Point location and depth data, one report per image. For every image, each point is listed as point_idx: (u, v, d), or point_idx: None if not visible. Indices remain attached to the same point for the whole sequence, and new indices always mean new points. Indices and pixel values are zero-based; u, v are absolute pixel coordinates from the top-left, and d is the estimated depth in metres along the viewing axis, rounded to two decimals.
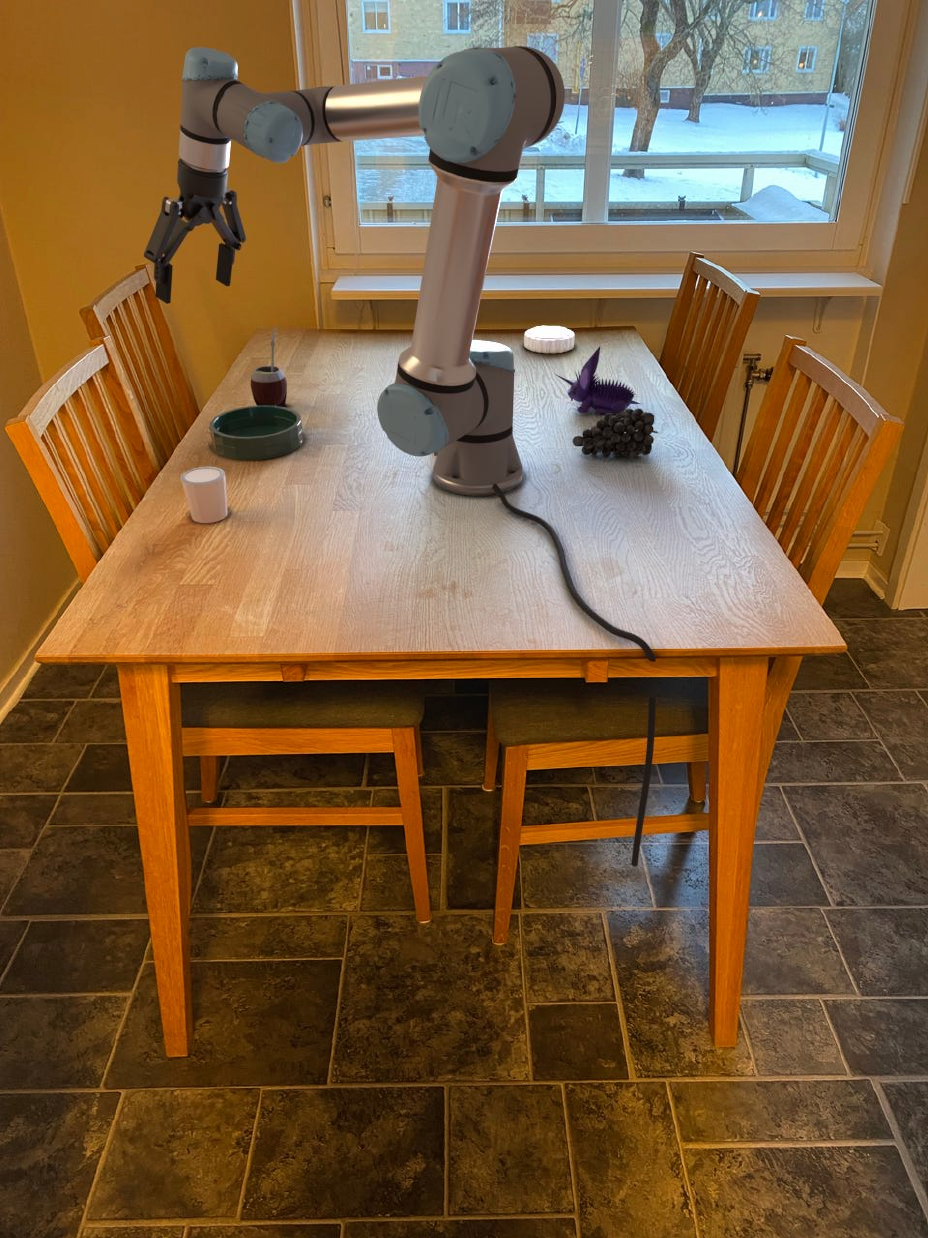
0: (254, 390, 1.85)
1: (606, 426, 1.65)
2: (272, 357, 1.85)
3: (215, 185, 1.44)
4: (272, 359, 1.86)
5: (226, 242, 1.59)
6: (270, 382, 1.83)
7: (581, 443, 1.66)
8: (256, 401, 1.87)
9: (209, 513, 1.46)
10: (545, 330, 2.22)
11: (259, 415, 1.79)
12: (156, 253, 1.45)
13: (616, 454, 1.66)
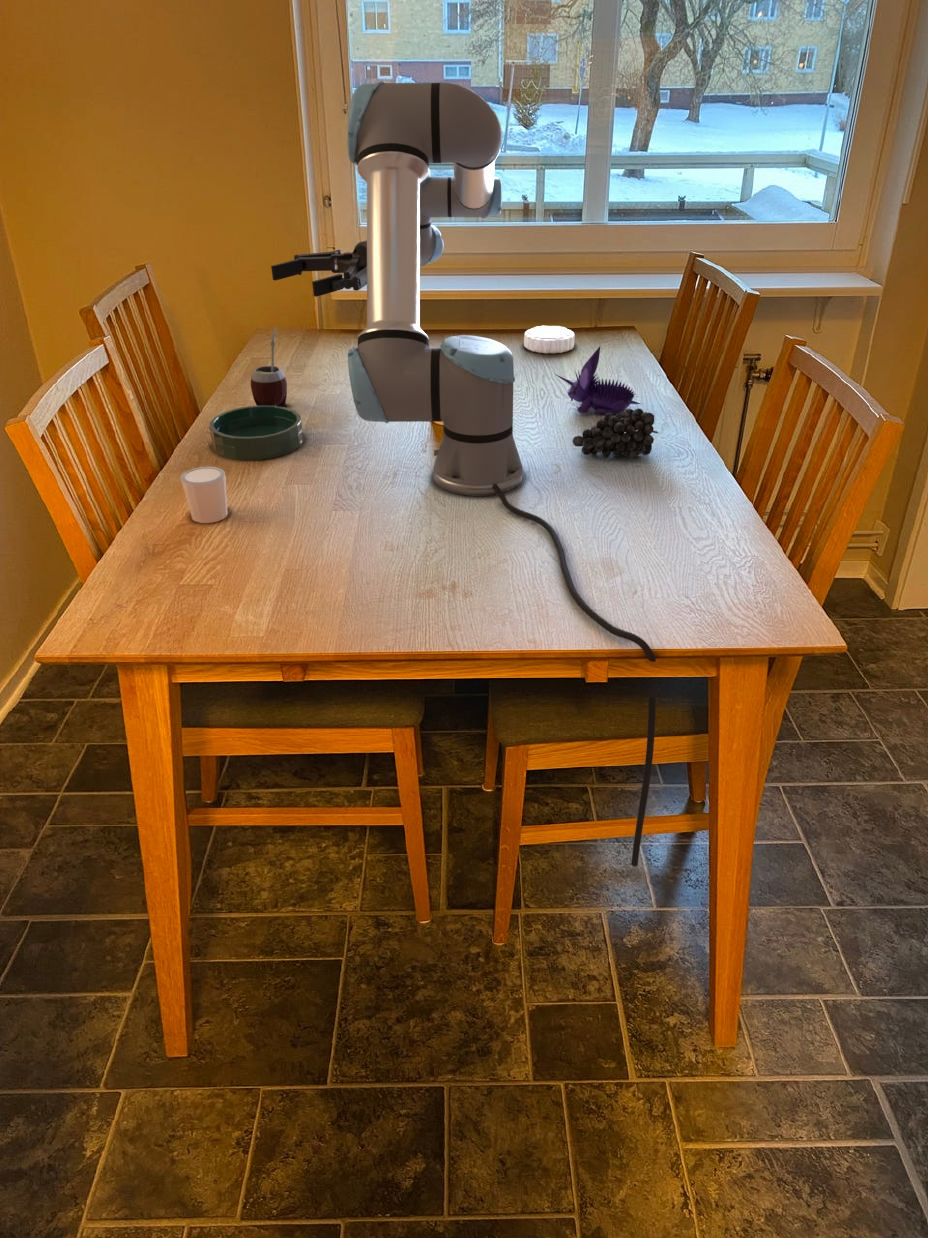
0: (254, 390, 1.85)
1: (606, 426, 1.65)
2: (272, 357, 1.85)
3: (367, 240, 1.88)
4: (272, 359, 1.86)
5: None
6: (270, 382, 1.83)
7: (581, 443, 1.66)
8: (256, 401, 1.87)
9: (209, 513, 1.46)
10: (545, 330, 2.22)
11: (259, 415, 1.79)
12: None
13: (616, 454, 1.66)
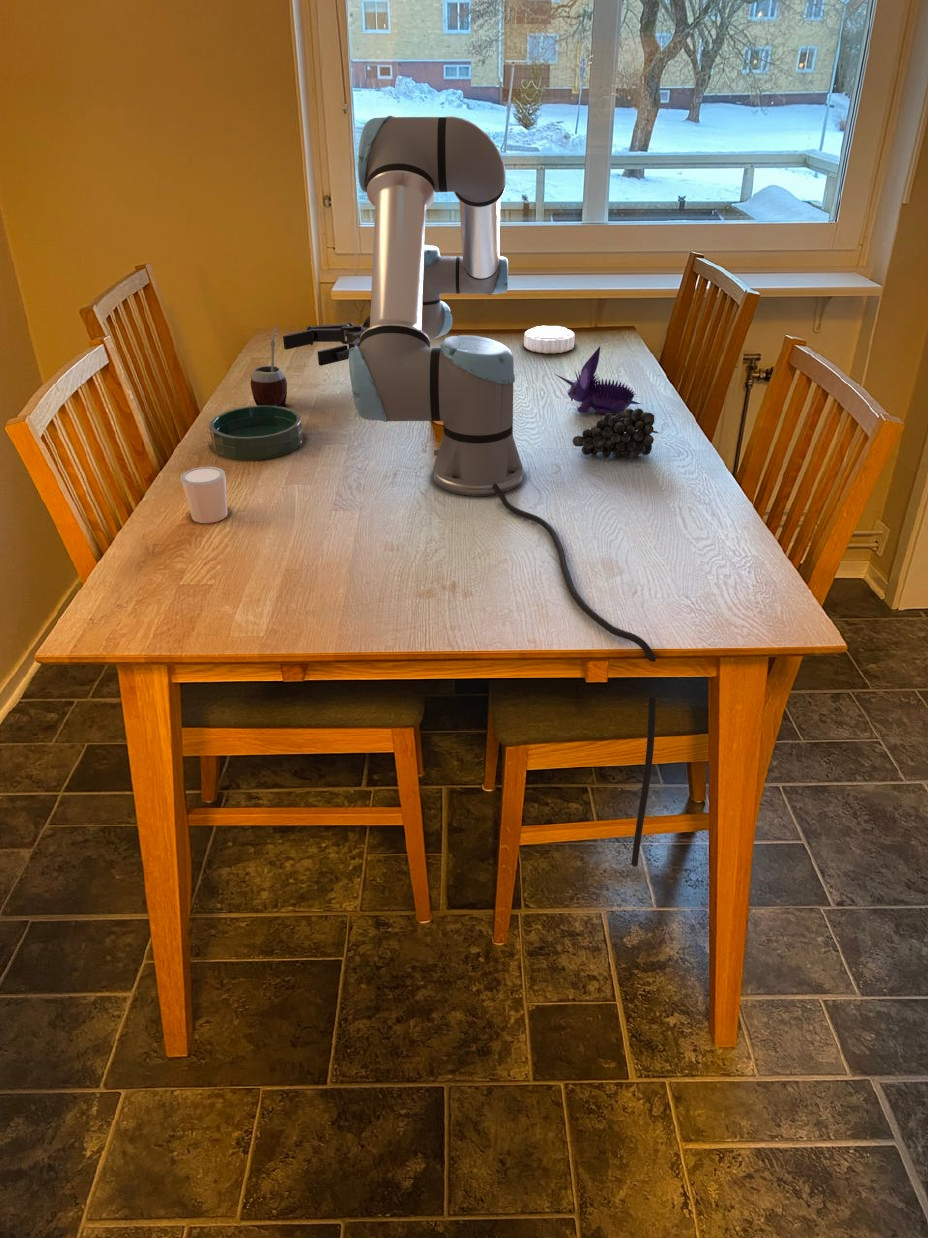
0: (254, 390, 1.85)
1: (606, 426, 1.65)
2: (272, 357, 1.85)
3: None
4: (272, 359, 1.86)
5: None
6: (270, 382, 1.83)
7: (581, 443, 1.66)
8: (256, 401, 1.87)
9: (209, 513, 1.46)
10: (545, 330, 2.22)
11: (259, 415, 1.79)
12: None
13: (616, 454, 1.66)
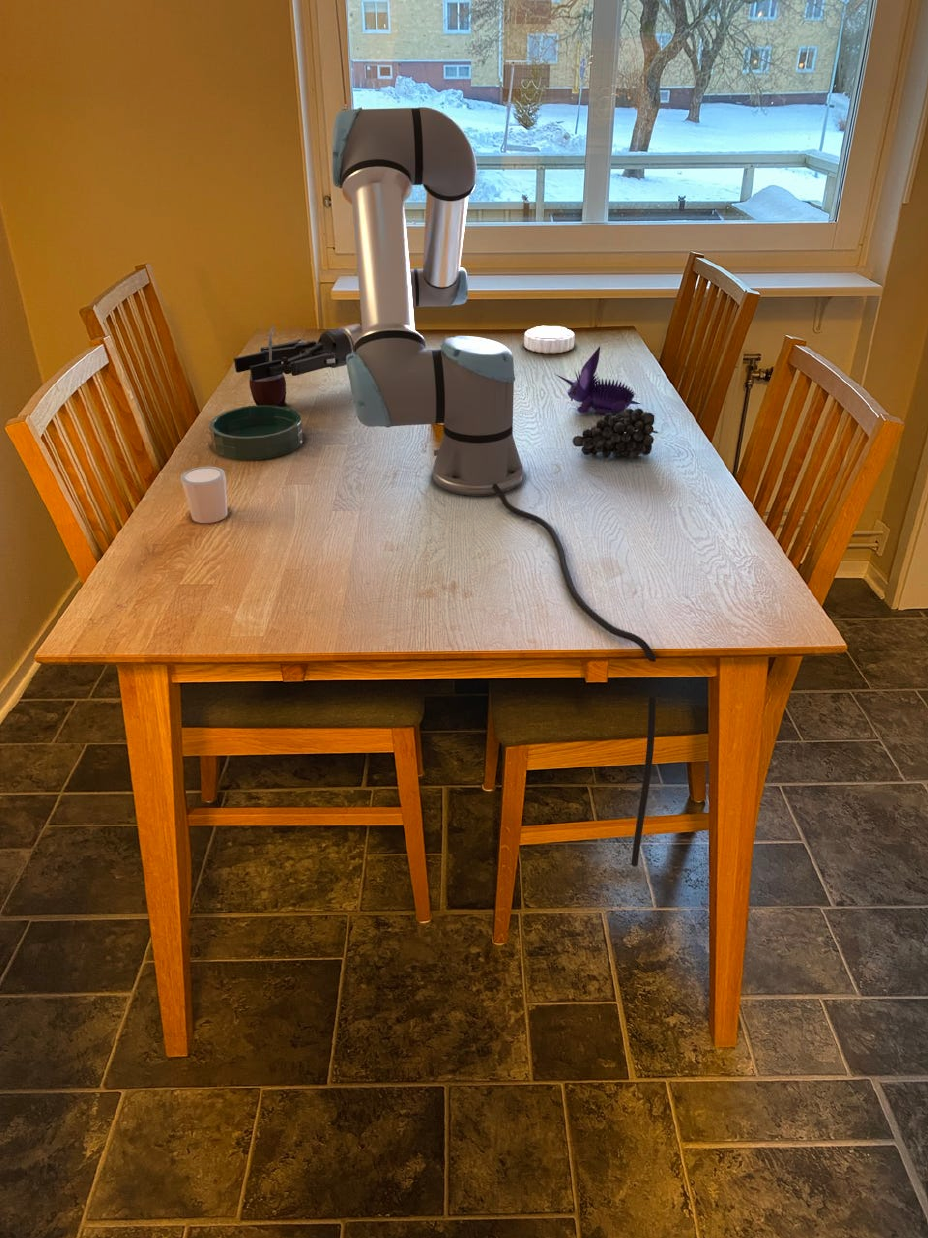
0: (253, 390, 1.85)
1: (606, 426, 1.65)
2: (270, 356, 1.86)
3: (332, 329, 1.92)
4: (270, 358, 1.86)
5: None
6: (268, 380, 1.83)
7: (581, 443, 1.66)
8: (256, 401, 1.87)
9: (209, 513, 1.46)
10: (545, 330, 2.22)
11: (259, 415, 1.79)
12: None
13: (616, 454, 1.66)
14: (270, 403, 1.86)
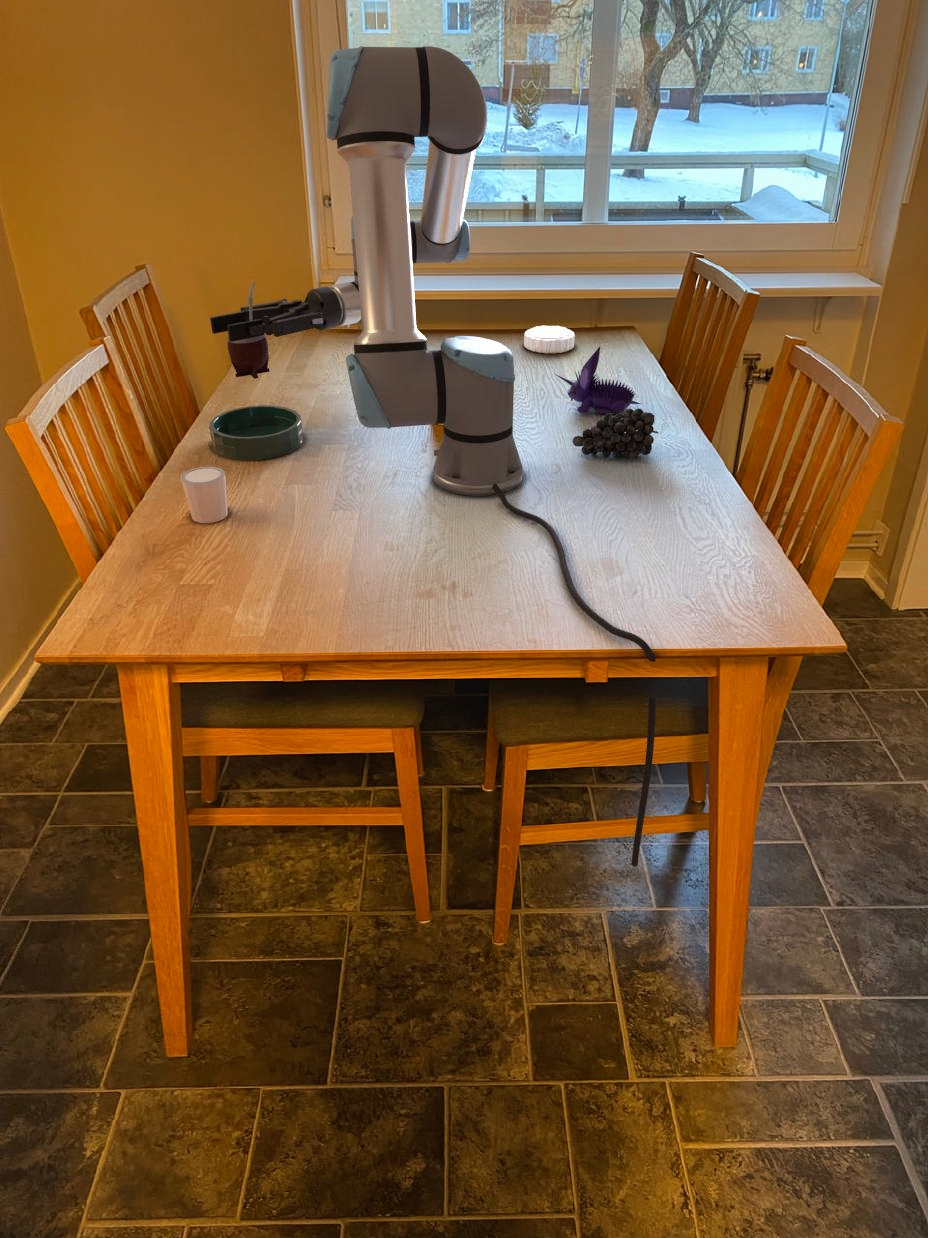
0: (231, 353, 1.67)
1: (606, 426, 1.65)
2: (250, 316, 1.67)
3: None
4: (250, 318, 1.67)
5: None
6: (248, 342, 1.65)
7: (581, 443, 1.66)
8: (235, 365, 1.69)
9: (209, 513, 1.46)
10: (545, 330, 2.22)
11: (259, 415, 1.79)
12: (247, 307, 1.72)
13: (616, 454, 1.66)
14: (250, 368, 1.68)
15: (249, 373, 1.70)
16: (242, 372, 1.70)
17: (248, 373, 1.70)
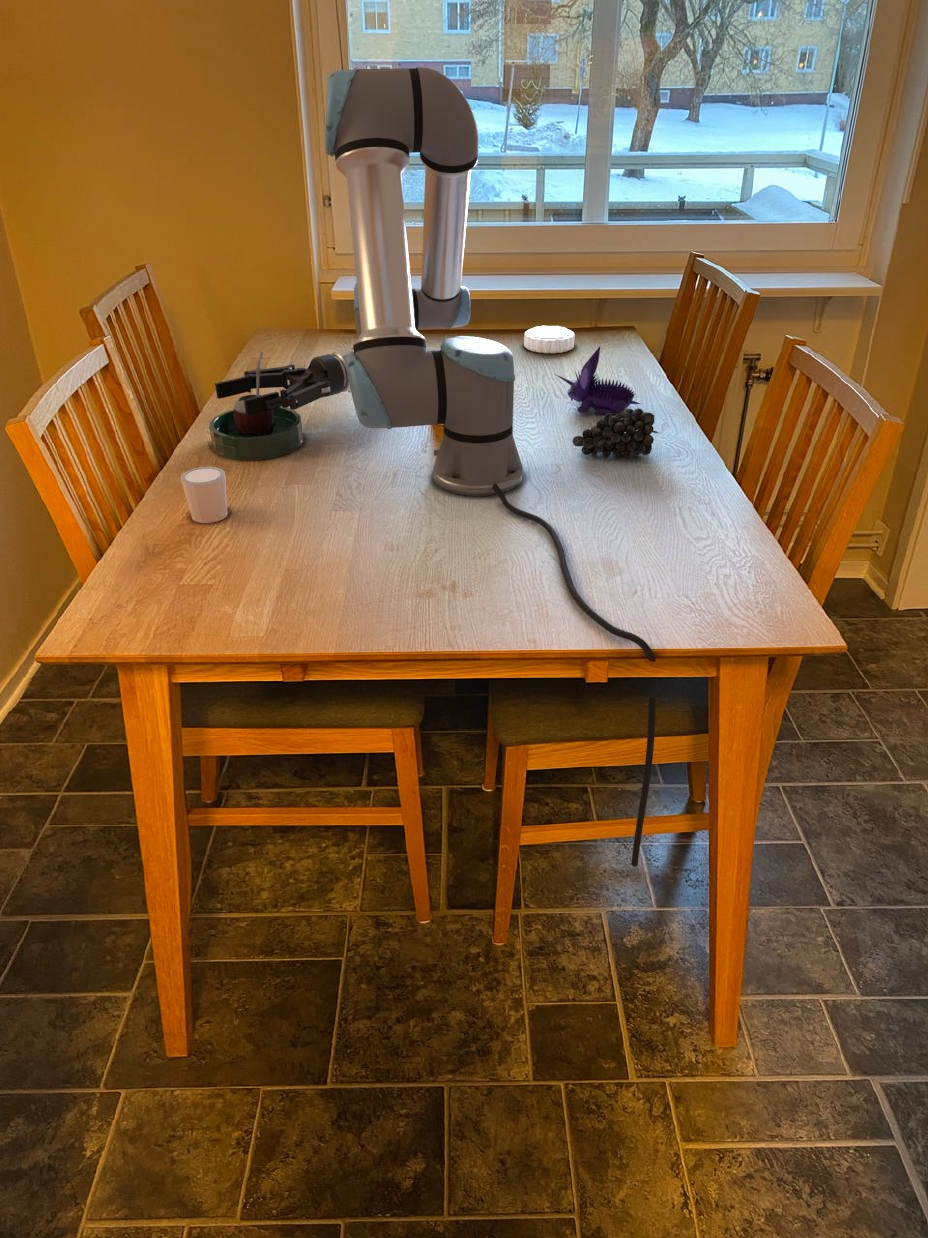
0: (237, 421, 1.69)
1: (606, 426, 1.65)
2: (257, 385, 1.70)
3: (323, 355, 1.76)
4: (257, 387, 1.70)
5: None
6: None
7: (581, 443, 1.66)
8: (240, 433, 1.72)
9: (209, 513, 1.46)
10: (545, 330, 2.22)
11: None
12: (251, 371, 1.77)
13: (616, 454, 1.66)
14: None
15: None
16: None
17: None
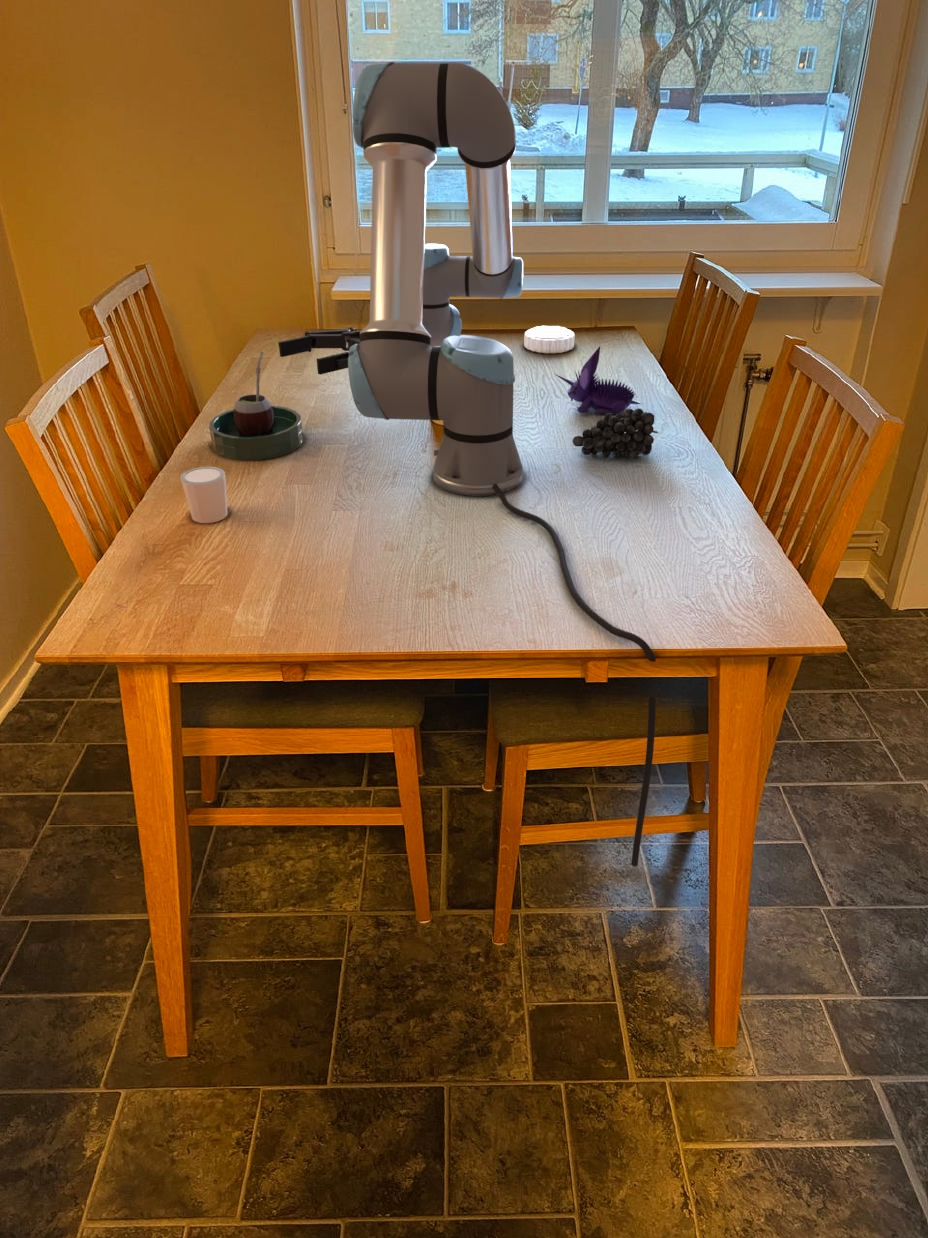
0: (237, 421, 1.69)
1: (606, 426, 1.65)
2: (257, 385, 1.70)
3: None
4: (257, 387, 1.70)
5: None
6: (255, 412, 1.68)
7: (581, 443, 1.66)
8: (240, 433, 1.72)
9: (209, 513, 1.46)
10: (545, 330, 2.22)
11: None
12: None
13: (616, 454, 1.66)
14: None
15: None
16: None
17: None
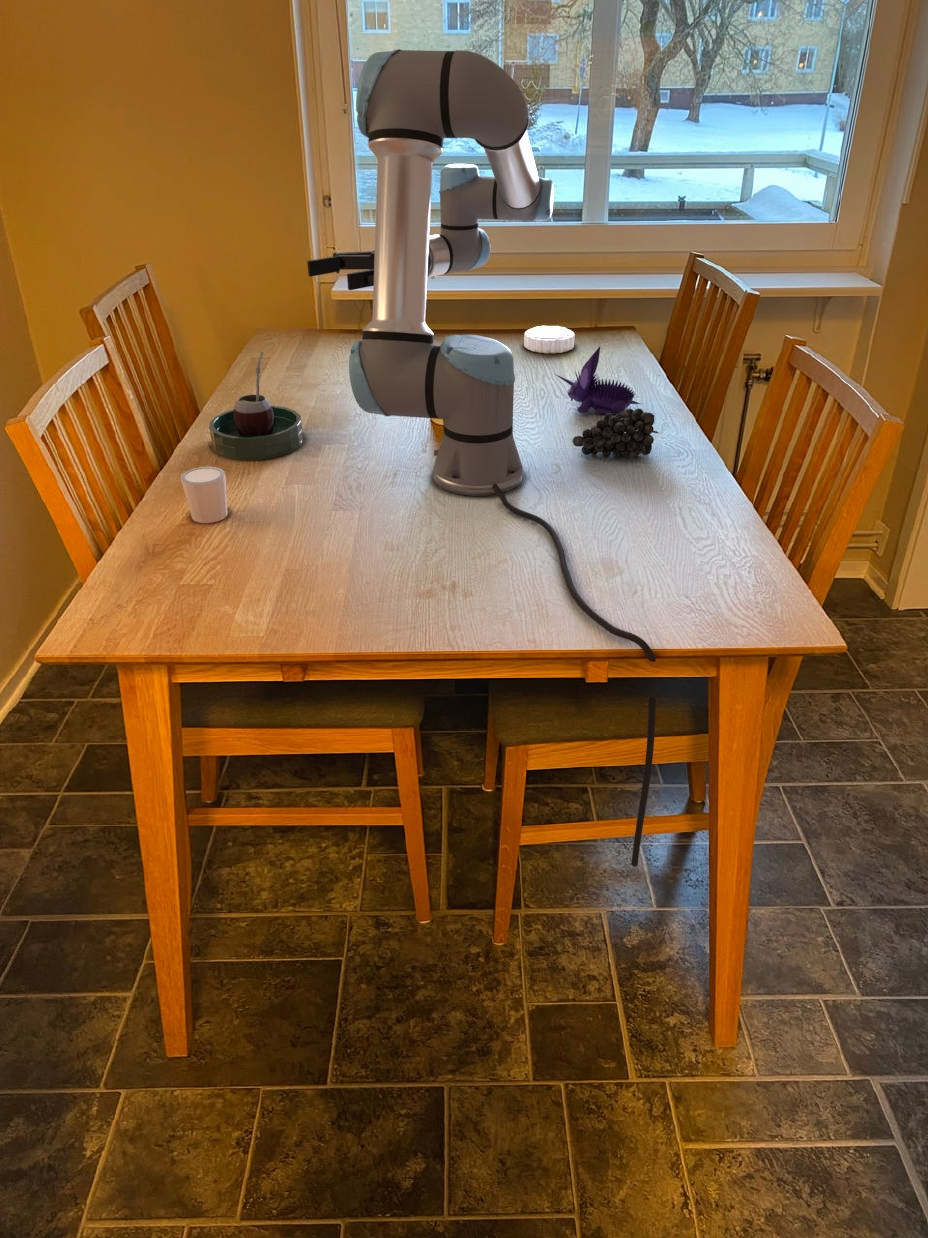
0: (237, 421, 1.69)
1: (606, 426, 1.65)
2: (257, 385, 1.70)
3: None
4: (257, 387, 1.70)
5: None
6: (255, 412, 1.68)
7: (581, 443, 1.66)
8: (240, 433, 1.72)
9: (209, 513, 1.46)
10: (545, 330, 2.22)
11: None
12: (340, 253, 1.81)
13: (616, 454, 1.66)
14: None
15: None
16: None
17: None
